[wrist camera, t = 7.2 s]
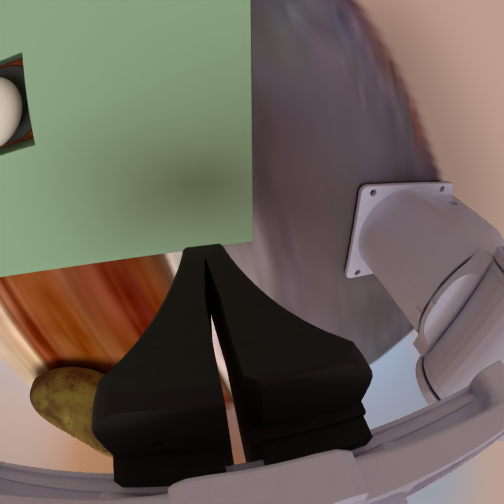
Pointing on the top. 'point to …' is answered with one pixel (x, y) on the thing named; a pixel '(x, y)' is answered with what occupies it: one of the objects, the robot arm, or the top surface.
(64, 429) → the potato
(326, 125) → the top surface
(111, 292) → the top surface
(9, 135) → the ball
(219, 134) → the putting mat
